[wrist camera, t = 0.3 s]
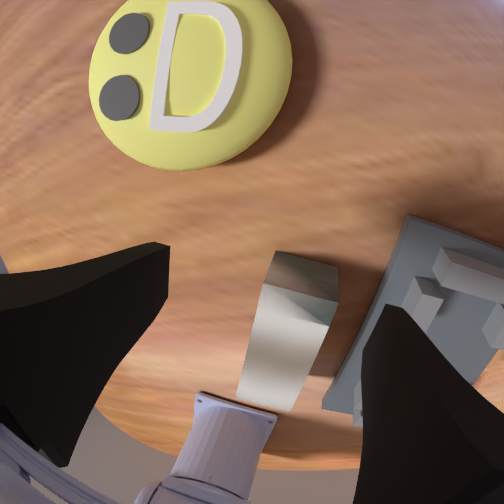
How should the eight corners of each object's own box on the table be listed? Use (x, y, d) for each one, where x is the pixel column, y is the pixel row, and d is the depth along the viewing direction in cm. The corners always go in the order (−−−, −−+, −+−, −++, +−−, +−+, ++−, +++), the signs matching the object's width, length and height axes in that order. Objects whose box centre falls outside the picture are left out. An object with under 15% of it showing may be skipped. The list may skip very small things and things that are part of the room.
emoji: (306, -35, 9) (89, -21, 10) (269, 196, 15) (67, 169, 15) (306, -9, 13) (122, -6, 14) (276, 179, 18) (103, 156, 19)
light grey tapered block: (296, 373, 23) (289, 412, 20) (248, 360, 24) (235, 397, 20) (338, 267, 19) (338, 302, 15) (275, 250, 19) (263, 282, 16)
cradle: (435, 416, 22) (439, 440, 20) (322, 399, 24) (319, 427, 21) (536, 263, 15) (556, 284, 12) (406, 213, 16) (420, 232, 14)
